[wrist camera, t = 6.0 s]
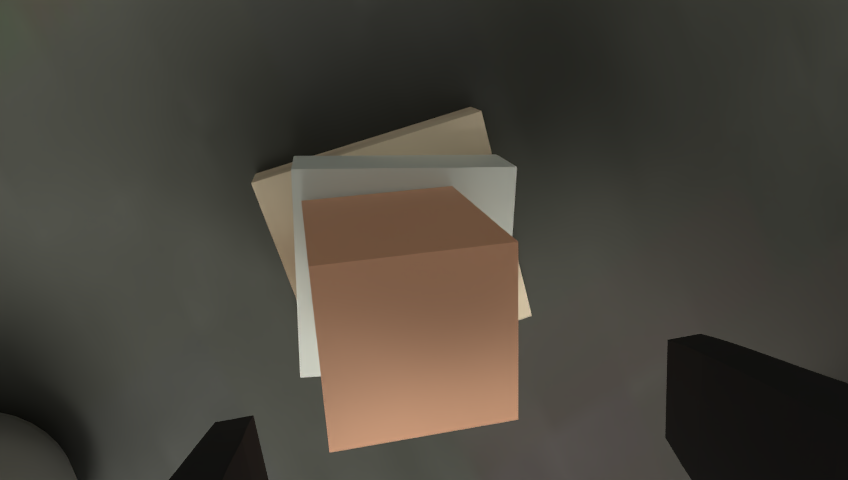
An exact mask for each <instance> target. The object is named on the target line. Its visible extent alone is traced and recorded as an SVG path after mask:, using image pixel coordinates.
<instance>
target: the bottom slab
mask: <svg viewBox="0 0 848 480" xmlns="http://www.w3.org/2000/svg"><path fill="white" fill-rule="evenodd" d="M360 155H492V152H491V148H490V144H489V140H488V136H487V132H486V128H485V123H484V119H483V115H482V111H480V110H478V109H476V108H473V107H468V108H465V109H462V110H458V111H455V112H452V113H449V114H446V115H442V116H439V117H436V118H433V119H429V120H426V121H423V122H420V123H417V124H413V125H410V126H407V127H404V128H401V129H397V130H394V131H391V132H388V133H385V134H381V135H378V136H375V137H372V138H368V139H365V140H362V141H359V142H356V143H352V144H349V145H346V146H343V147H340V148H336V149H333V150H330V151H327V152H324V153H320V154H317V155H314V156H360ZM291 167H292V162H291V163H288V164H285V165H282V166H279V167H275V168H272V169H269V170H266V171H263V172H259V173H256V174H255V176H254V178H253V180H252V182H251V184H252V187H253V189H254V192H255V194H256V197H257V200H258V202H259V205H260V207H261V210H262V212H263V215H264V217H265V220H266V222H267V225H268V228H269V230H270V233H271V235H272V238H273V240H274V243H275V245H276V248H277V250H278V253H279V256H280V258H281V261H282V263H283V266H284V268H285V271H286V273H287V276H288V279H289V281H290V284H291V286H292V289H293V291H294V294H295V296H296V299H297V291H296V269H295V247H294V225H293V202H292V180H291ZM529 316H532V315H531V311H530V307H529V303H528V299H527V294H526V290H525V286H524V282H523V278H522V274H521V270H520V266H519V262H518V320H520V319H523V318H526V317H529Z"/></svg>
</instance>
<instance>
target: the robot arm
mask: <svg viewBox="0 0 848 480" xmlns="http://www.w3.org/2000/svg"><path fill="white" fill-rule="evenodd" d="M665 438H666V439H667V441H668V443H669V444H670V446H671V447H672V449H673V451H674V452H675V454H676V456H677V457H678V459H679V461H680V462H681V464H682V466H683V467H684V469H685V470H686V472H687V473H688V475H689V476H690V478H691V479H692V480H848V383H845V382H842V381H839V380H836V379H833V378H830V377H827V376H824V375H821V374H819V373H816V372H813V371H810V370H807V369H804V368H801V367H799V366H796V365H793V364H790V363H787V362H785V361H782V360H779V359H776V358H773V357H771V356H768V355H765V354H762V353H759V352H757V351H754V350H751V349H748V348H745V347H742V346H739V345H736V344H733V343H730V342H727V341H724V340H721V339H717V338H714V337H710V336H706V335H702V334H697V335H692V336H686V337H681V338H675V339H670V340H668V352H667V394H666V437H665ZM169 480H268V476H267V472H266V468H265V463H264V459H263V455H262V451H261V446H260V442H259V438H258V434H257V429H256V425H255V421H254V417H253V416H248V417H242V418H237V419H231V420H226V421H220V422H215V423H214V425H213V426H212V427H211V428H210V429H209V430H208V432H207V433H206V434H205V435H204V437H203V438H202V439H201V440H200V442H199V443H198V444H197V445H196V447H195V448H194V449H193V450H192V452H191V453H190V454H189V455H188V457H187V458H186V459H185V460H184V462H183V463H182V464H181V466H180V467H179V468H178V469H177V471H176V472H175V473H174V474H173V476H172V477H171V478H170V479H169Z"/></svg>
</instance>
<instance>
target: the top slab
mask: <svg viewBox="0 0 848 480" xmlns="http://www.w3.org/2000/svg"><path fill="white" fill-rule="evenodd" d="M516 175H517V167H516V166H515V165H513V164H511V163H510V162H508V161H507V160H505V159H503V158H502V157H500V156H498V155H497V154H492V155H360V156H294V157H293V162H292V167H291V180H292V202H293V225H294V247H295V269H296V291H297V314H298V336H299V358H300V378H301V377H316V376H321V372H320V364H319V355H318V346H317V338H316V329H315V320H314V311H313V303H312V294H311V285H310V277H309V268H308V259H307V249H306V240H305V230H304V221H303V212H302V202H301V201H304V200H314V199H324V198H335V197H345V196H355V195H365V194H376V193H386V192H396V191H406V190H416V189H427V188H437V187H447V186H453V187H454V188H455V189H456V190H458V191H459V192H460V193H461V194H462V195H463V196H465V197H466V198H467V199H468V200H469V201H471V202H472V203H473V204H474V205H475V206H476V207H478V208H479V209H480V210H481V211H482V212H484V213H485V214H486V215H487V216H488V217H490V218H491V219H492V220H493V221H494V222H495V223H497V224H498V225H499V226H500V227H501V228H503V229H504V230H505V231H506V232H507V233H508V234H510V235H511V236H512V234H513V219H514V204H515V189H516Z"/></svg>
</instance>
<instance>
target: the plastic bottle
mask: <svg viewBox="0 0 848 480" xmlns="http://www.w3.org/2000/svg"><path fill="white" fill-rule="evenodd" d="M0 480H77V478H76V475H75V473H74V471H73V468H72V466H71V464H70V462H69V460H68V458H67V455H66V454H65V453H64V451H63V450H62V448H61V447H60V446H59V444H58V443H57V442H56V441H55V440H54V439H53V438H52V437H51V436H49V435H48V434H47V433H46V432H45V431H43V430H42V429H40V428H39V427H37V426H35V425H34V424H32V423H30V422H28V421H26V420H23V419H21V418H19V417H16V416H13V415H9V414H5V413H1V412H0Z"/></svg>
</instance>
